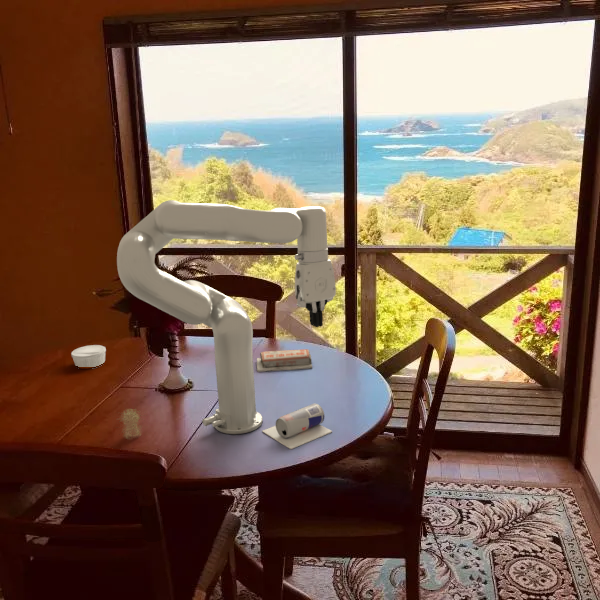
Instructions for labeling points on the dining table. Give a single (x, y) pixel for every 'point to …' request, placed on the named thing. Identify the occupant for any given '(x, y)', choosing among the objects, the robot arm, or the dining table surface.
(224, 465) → the dining table surface
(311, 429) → the mat
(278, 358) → the packaged product
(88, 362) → the ramekin
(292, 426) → the energy drink
